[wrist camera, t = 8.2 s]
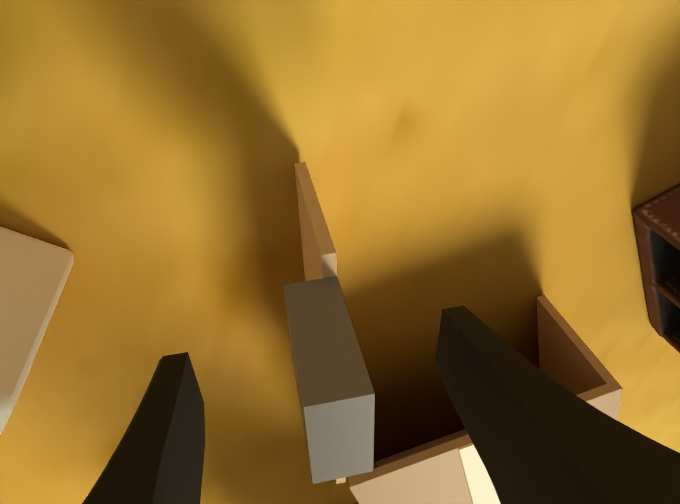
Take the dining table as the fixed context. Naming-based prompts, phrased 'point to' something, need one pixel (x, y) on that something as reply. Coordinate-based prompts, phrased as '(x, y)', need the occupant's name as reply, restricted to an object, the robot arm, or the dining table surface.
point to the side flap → (327, 354)
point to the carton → (457, 448)
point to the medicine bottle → (25, 306)
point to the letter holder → (661, 261)
